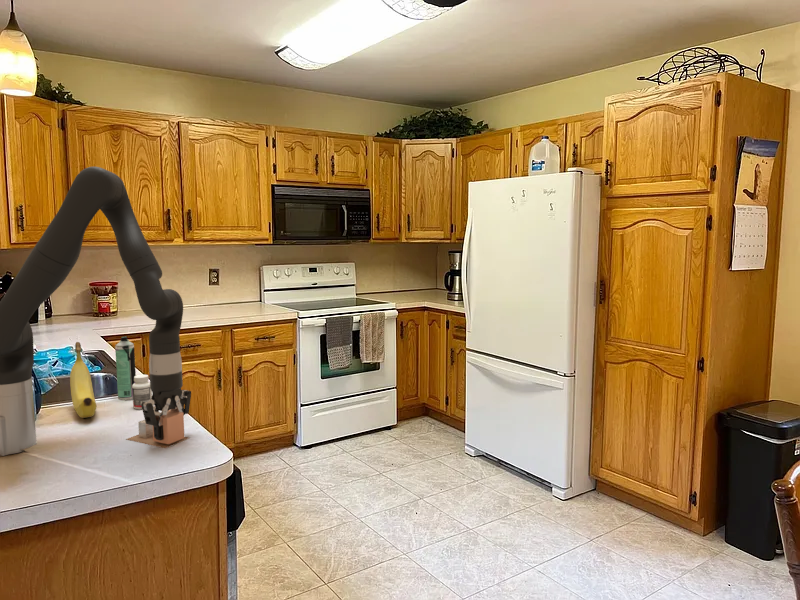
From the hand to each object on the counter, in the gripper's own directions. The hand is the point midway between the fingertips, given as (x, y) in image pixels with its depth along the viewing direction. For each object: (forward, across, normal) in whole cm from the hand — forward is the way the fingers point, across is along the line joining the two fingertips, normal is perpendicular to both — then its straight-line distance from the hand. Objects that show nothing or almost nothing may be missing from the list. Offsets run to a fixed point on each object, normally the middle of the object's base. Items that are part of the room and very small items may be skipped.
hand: (168, 435), depth 147 cm
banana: (+2, +7, +42) cm, 43 cm away
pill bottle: (+2, +19, +32) cm, 37 cm away
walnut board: (+2, 0, +4) cm, 5 cm away
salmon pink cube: (+1, 0, 0) cm, 1 cm away
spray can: (+2, +24, +45) cm, 51 cm away
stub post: (+1, 0, +8) cm, 8 cm away
